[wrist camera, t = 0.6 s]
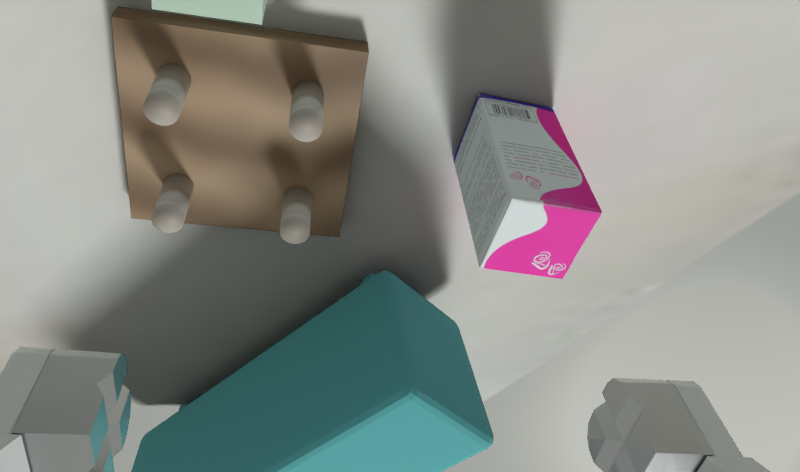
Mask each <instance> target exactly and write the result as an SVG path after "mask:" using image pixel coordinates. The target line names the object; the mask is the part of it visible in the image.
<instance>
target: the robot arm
mask: <svg viewBox="0 0 800 472" xmlns="http://www.w3.org/2000/svg"><path fill="white" fill-rule="evenodd" d="M127 371H128V370H127V363H126V356H125V355H124V354H121V353H108V352H94V351H81V350H68V349H46V348H33V347H20V348H19V349H17V350H16V351H15V352H14V353H13V354H12V355H11V357H10V358H9V360H8V362H7V364H6V366H5V367H4V369H3V371H2V373H1V375H0V472H114V466H113V458H112V457H114V456H115V455H116V454H117V453H118V452H120V451H121V450H122V448H123V445H124V442H125V438H126V435H127V430H128V424H129V418H130V404H131V400H130V390H129V389H128V388H127V387H126V386H125V385H124V384H123V383H124V380H125V377H126V374H127ZM602 393H603V396H604V398H605V400H606V402H605V403H604V404H602V405H600V406H599V407H597V408H596V409H595V410H594V411H593V413H592V416H591V418H590V420H589V423H588V437H587V439H588V444H589V450H590V453H591V456H592V459H593V461H594V463H595V464H596V465H597V466H598V467H599V468H600V469H601V470H602V471H603V472H770V471H769V470H767V469H766V468H765V467H763V466H762V465H760V464H759V463H758V462H756V461H755V460H754V459H753V458H748V457H743V456H742V454H741V452H740V451H739V449H738V447H737V446H736V444H735V443H734V441H733V439H732V437H731V436H730V434H729V433H728V431H727V429H726V428H725V426H724V424H723V423H722V421H721V419H720V418H719V416H718V415H717V413H716V411H715V410H714V408H713V406H712V405H711V403H710V401H709V400H708V398H707V396H706V395H705V393H704V392H703V390H702V388H701V387H700V386H699V385H697V384H696V383H695V382H694V381H673V380H672V381H671V380H667V381H664V380H650V379H648V380H647V379H625V378H613V379H612V380H610V381H609V382H608V383H607V384H606V386H605V389H604V390H603V392H602Z"/></svg>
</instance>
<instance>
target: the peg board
mask: <svg viewBox="0 0 800 472" xmlns="http://www.w3.org/2000/svg"><path fill="white" fill-rule="evenodd" d="M111 21H112V31H113V41H114V50H115V60H116V70H117V80H118V90H119V100H120V110H121V120H122V130H123V139H124V149H125V159H126V169H127V179H128V189H129V199H130V209H131V218H134V219H145V220H152V223H153V225H154V226H155V227H156V228H157V229H158V230H160V231H162V232H165V233H175V232H178V231H179V230H181V229H182V227H183V225H184V223H190V224H201V225H212V226H223V227H234V228H245V229H256V230H267V231H278V232H280V236H281V237H282V239H283V240H284V241H286V242H288V243H291V244H300V243H303V242H305V241H306V240H307V239H308V238H309V236H310V234H311V235H322V236H333V237H339V235H340V229H341V223H342V217H343V210H344V204H345V198H346V192H347V185H348V179H349V173H350V166H351V160H352V154H353V148H354V141H355V135H356V129H357V122H358V116H359V110H360V104H361V97H362V91H363V85H364V79H365V72H366V66H367V60H368V53H369V51H368V42H362V41H355V40H348V39H341V38H334V37H327V36H320V35H313V34H306V33H299V32H292V31H285V30H278V29H271V28H264V27H257V26H250V25H243V24H235V23H228V22H221V21H214V20H207V19H200V18H193V17H186V16H179V15H172V14H165V13H158V12H151V11H144V10H137V9H130V8H123V7H117V9H116V10H115V12H114V13H113V15H112V16H111Z"/></svg>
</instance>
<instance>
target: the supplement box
mask: <svg viewBox="0 0 800 472" xmlns="http://www.w3.org/2000/svg"><path fill="white" fill-rule="evenodd" d="M454 164H455V168H456V172H457V176H458V180H459V184H460V188H461V192H462V196H463V201H464V205H465V209H466V213H467V217H468V221H469V225H470V230H471V234H472V238H473V242H474V246H475V250H476V254H477V259H478V263H479V267H480V268H487V269H494V270H501V271H509V272H516V273H524V274H531V275H538V276H545V277H553V278H560V279H562V278H563V277H564V275H565V274H566V272H567V271H568V269H569V267H570V265H571V264H572V262H573V260H574V258H575V256H576V255H577V253H578V251H579V249H580V248H581V246H582V244H583V243H584V241H585V240H586V238H587V236H588V235H589V233H590V231H591V230H592V228H593V227H594V225H595V223H596V222H597V220H598V218H599V217H600V215H601V213H602V211H601V209H600V207H599V205H598V203H597V201H596V199H595V197H594V195H593V193H592V191H591V189H590V186H589V184H588V182H587V180H586V178H585V176H584V174H583V172H582V170H581V168H580V165H579V163H578V161H577V159H576V157H575V155H574V153H573V151H572V149H571V146H570V144H569V142H568V140H567V138H566V136H565V134H564V132H563V130H562V128H561V126H560V123H559V121H558V119H557V117H556V115H555V113H554V111H553V109H552V108H549V107H544V106H540V105H535V104H530V103H526V102H520V101H515V100H511V99H506V98H501V97H496V96H491V95H486V94H481V93H479V94H478V96H477V98H476V100H475V103H474V106H473V108H472V111H471V114H470V117H469V119H468V122H467V125H466V128H465V130H464V133H463V135H462V138H461V140H460V143H459V145H458V148H457V151H456V153H455V156H454Z"/></svg>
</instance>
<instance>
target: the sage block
mask: <svg viewBox="0 0 800 472" xmlns="http://www.w3.org/2000/svg"><path fill="white" fill-rule="evenodd" d="M151 2H152V9H155V10H162V11H169V12H176V13H183V14H190V15H197V16H204V17H211V18H218V19H225V20H232V21H239V22H246V23H253V24H260V25H262V22H263V18H264V13H265V8H266V4H267V0H151Z"/></svg>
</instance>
